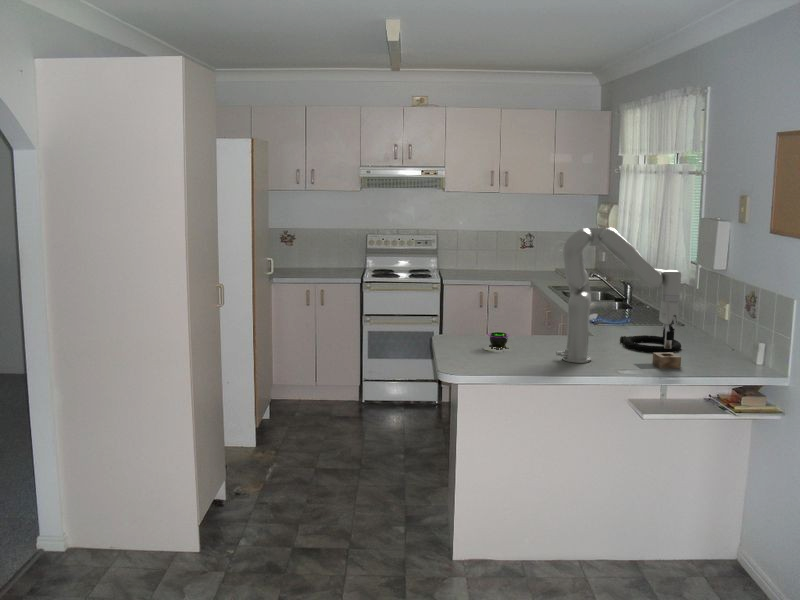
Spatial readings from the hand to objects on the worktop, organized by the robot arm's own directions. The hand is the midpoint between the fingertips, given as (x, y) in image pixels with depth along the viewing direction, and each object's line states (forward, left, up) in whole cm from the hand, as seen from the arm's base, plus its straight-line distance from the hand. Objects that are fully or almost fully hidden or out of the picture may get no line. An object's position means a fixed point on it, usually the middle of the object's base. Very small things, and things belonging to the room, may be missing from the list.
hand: (668, 338), depth 347 cm
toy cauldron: (-67, +40, -13) cm, 79 cm away
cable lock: (+9, +40, -13) cm, 43 cm away
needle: (0, 0, -4) cm, 4 cm away
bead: (0, 0, -12) cm, 12 cm away
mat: (-4, 0, -13) cm, 13 cm away
